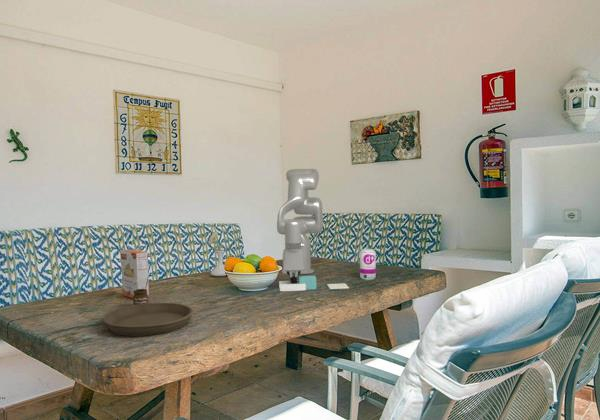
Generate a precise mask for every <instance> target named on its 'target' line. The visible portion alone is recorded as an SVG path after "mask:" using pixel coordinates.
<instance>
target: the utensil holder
mask: <svg viewBox="0 0 600 420" xmlns="http://www.w3.org/2000/svg"><path fill="white" fill-rule="evenodd" d="M148 279H149V277H148ZM148 279H147V282H146V287H147V284H148ZM133 284H134V283H133ZM137 284H139V283H137ZM135 285H136V283H135ZM136 289H137V287H136ZM132 302H133V304H132V305H138V304H146V303H150V302H149V298H148V294H147V289H146V288H145V289H139V287H138V289H137V290H134V296H133V301H132Z"/></svg>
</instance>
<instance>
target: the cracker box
mask: <svg viewBox="0 0 600 420" xmlns="http://www.w3.org/2000/svg"><path fill="white" fill-rule="evenodd" d="M120 263H121V265H120V266H121V283H122V285H121V286H122V290H121V291H122V296H123V297H127V298H129V299H133V296H134V290H137V289H138V287H139V289H145V288H146V289H147V294H148V299H150V287H149V286H150V281H149V279H148V278H149V255H148V251H144V250H143V251H142V250H137V249H124V250H123V249H122V250H121V251H120ZM147 279H148V284H147V287H146V282H147ZM133 283H134V284H133ZM135 283H136V285H135ZM137 283H139V284H137ZM136 287H137V289H136Z"/></svg>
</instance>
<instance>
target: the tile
mask: <svg viewBox="0 0 600 420" xmlns="http://www.w3.org/2000/svg"><path fill="white" fill-rule="evenodd" d="M326 285H327V287H328V289H329V290H338V289H340V290H343V289H345V290H346V289H350V287H349V286H348V284H347V283H345V282H344V283H341V282H340V283H327V284H326Z"/></svg>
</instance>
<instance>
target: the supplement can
mask: <svg viewBox="0 0 600 420" xmlns="http://www.w3.org/2000/svg"><path fill="white" fill-rule="evenodd" d="M376 253H377V252H376V250H375V249H372V248H363V249H360V252H359V278H360V279H361V280H367V281H370V280H371V281H372V280H375V279H376V277H377V267H376V266H377V264H376V263H377V262H376V261H377V259H376V258H377V257H376V256H377V254H376Z"/></svg>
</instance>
